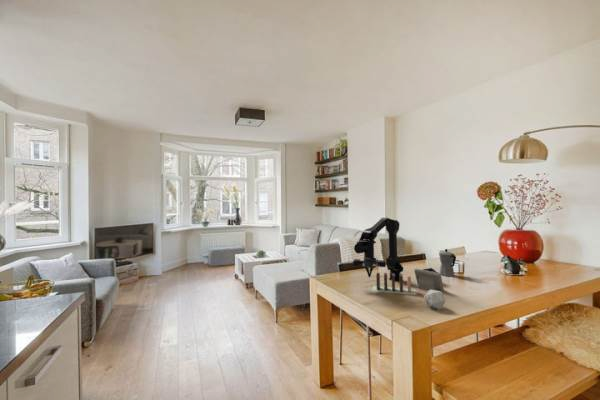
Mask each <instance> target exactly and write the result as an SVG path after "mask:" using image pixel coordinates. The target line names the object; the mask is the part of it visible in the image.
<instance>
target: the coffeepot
mask: <svg viewBox="0 0 600 400" xmlns="http://www.w3.org/2000/svg"><path fill="white" fill-rule="evenodd" d="M448 250H449V249H448V248H445V249H444V251H440V252H438V256H439V261H440V268H439V272H438V273H439V274H440V275H441V277H447V278H448V277H455V272H454V266H455V263H456V260H457V257H456V255H455V254H454V253H453V252H450V251H448Z"/></svg>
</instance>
